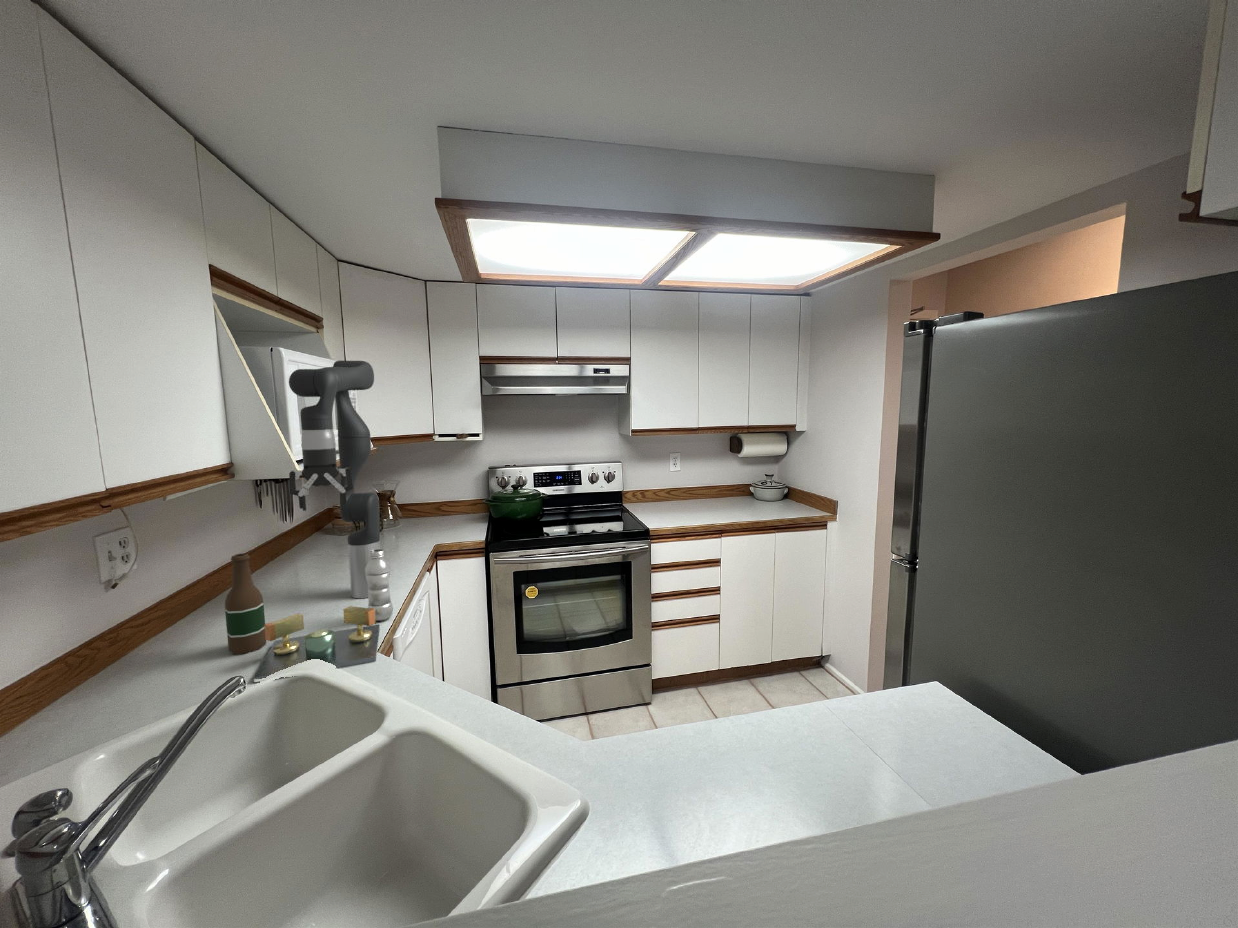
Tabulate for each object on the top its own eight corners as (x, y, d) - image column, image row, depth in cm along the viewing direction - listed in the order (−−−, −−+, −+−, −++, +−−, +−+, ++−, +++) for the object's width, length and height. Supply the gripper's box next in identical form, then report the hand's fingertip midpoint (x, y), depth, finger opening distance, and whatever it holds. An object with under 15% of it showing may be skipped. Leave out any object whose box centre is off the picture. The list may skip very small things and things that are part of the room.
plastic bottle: (383, 624, 140) (379, 554, 138) (362, 622, 141) (358, 553, 139) (398, 615, 146) (394, 548, 144) (377, 613, 147) (373, 547, 145)
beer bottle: (274, 642, 129) (267, 551, 127) (244, 656, 122) (236, 560, 119) (251, 639, 131) (243, 549, 129) (220, 653, 124) (211, 558, 121)
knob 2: (340, 640, 127) (338, 611, 126) (356, 631, 132) (354, 603, 131) (365, 643, 125) (363, 614, 124) (380, 634, 130) (379, 606, 129)
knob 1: (296, 641, 126) (294, 611, 126) (308, 645, 124) (306, 615, 123) (263, 654, 120) (260, 623, 119) (275, 658, 117) (272, 627, 116)
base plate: (275, 645, 128) (273, 619, 127) (379, 628, 137) (378, 604, 136) (253, 683, 109) (251, 653, 109) (375, 660, 119) (374, 633, 118)
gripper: (349, 444, 137) (353, 503, 139) (287, 447, 130) (292, 508, 132) (350, 446, 131) (354, 508, 133) (284, 449, 124) (290, 514, 126)
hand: (323, 508), depth 132 cm, fingers open, 8 cm apart
